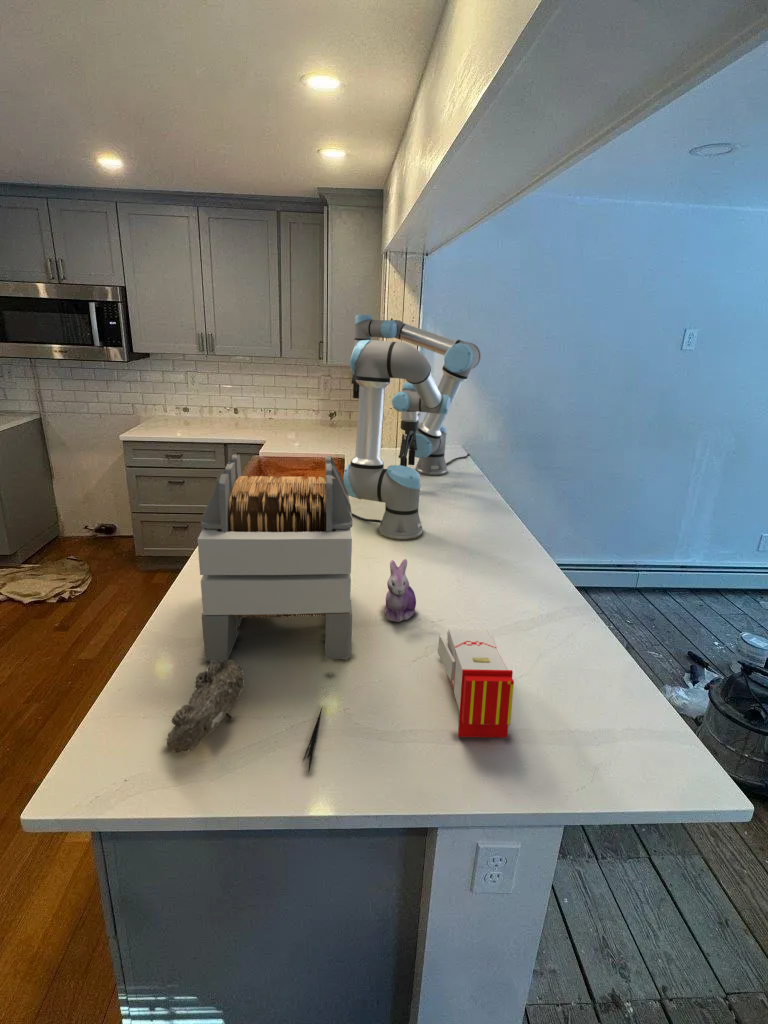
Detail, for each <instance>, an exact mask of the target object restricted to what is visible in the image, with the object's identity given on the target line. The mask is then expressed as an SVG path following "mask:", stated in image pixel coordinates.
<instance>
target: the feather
mask: <svg viewBox="0 0 768 1024" xmlns="http://www.w3.org/2000/svg"><path fill="white" fill-rule="evenodd" d="M329 675H330V676H331V675H332V674H331V673H330V674H329ZM322 710H323V707H321V708H320V710H319V713H318V716H317V719H316V723H315V725H314V728H313V731H312V733H311V737H310V739H309V742H308V745H307V748H306V751H305V754H304V757H303V760H302V763H301V767H302V765H303V763H304V761H305V758H308V759H309V760H308V762H307V763H308V764H307V766H308V771H310V770H311V766H312V765H311V764H312V760H313V757H315V756H314V755H315V751H316V749H315V746H317V739H318V733H319V729H320V722H321V717H322V712H323V711H322ZM313 754H314V755H313ZM306 755H307V757H306Z"/></svg>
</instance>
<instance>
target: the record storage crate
mask: <svg viewBox="0 0 768 1024" xmlns="http://www.w3.org/2000/svg"><path fill="white" fill-rule="evenodd" d="M324 457H325V458H324V459H325V461H324V462H325V463H324V464H325V465H324V468H325V469H324V476H318V477H316V476H307V477H303V476H288V475H287V476H280V477H279V476H274V475H270V476H268V475H259V476H258V475H255V476H254V475H250V476H247V475H242V466H241V456H240V454H231V457H230V459H229V462H227V463H226V466H225V467H224V470H223V472H222V474H220V476H219V478H218V480H217V482H216V484H215V487H214V488H213V491H212V493H211V496H210V498H209V500H208V502H207V505H206V507H205V509H204V511H203V513H202V516H201V518H200V527H201V532H200V533H199V535H198V537H197V550H198V565H199V576H202V577H201V579H200V590H201V591H200V592H201V606H202V607H201V608H202V613H201V626H202V627H201V629H202V640H203V646H204V658H203V660H204V662H208V663H210V662H211V661H212V660H217V661H222V662H223V661H224V660H227V659H228V660H229V658H230V655H231V653H232V650H233V648H234V645H235V643H236V640H237V638H238V628H240V625H241V621H242V619H243V618H282V617H283V618H289V617H290V618H293V617H297V618H298V617H314V616H315V617H320V616H321V617H324V653H325V654H324V655H325V660H338V659H339V660H348V659H350V658H352V644H353V643H352V641H353V639H352V638H353V610H352V600H351V588H352V587H351V586H352V582H351V581H352V577H351V574H352V553H353V552H352V548H353V547H352V546H353V537H352V530H351V528H352V527H353V523H354V520H353V516H352V506H351V501H350V500H351V499H350V496H349V494H348V492H347V489H346V487H345V485H344V481H343V478H342V477H341V474H340V472H339V470H338V468H337V466H336V463H335V461H334V460H333V457H332V455H328V454H327V455H326V454H325V456H324Z"/></svg>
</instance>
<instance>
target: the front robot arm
mask: <svg viewBox="0 0 768 1024" xmlns="http://www.w3.org/2000/svg"><path fill="white" fill-rule="evenodd" d="M351 352H352V353H351V355H350V361H349V368H350V372H351V374H352V375H353V374H354V375H356V382H357V383H358V384H359V399H358V409H357V425H356V440H355V456H354V457H353V458H351V459H350V463H349V464H347V465H346V466H345V467H344V472H343V477H342V481H343V483H344V485H345V487H346V489H347V492H348V494H349V497H351V498H354V499H358V500H366V501H373V502H379V503H384V505H385V507H384V508H385V509H384V513H383V515H382V519H375V518H364V517H361V516H359V515H357V514H355V513H352V518H354V519H357V520H359V521H362V522H368V523H377V524H378V523H379V526H378V533H379V534H380V535H381V536H382V537H385V538H387V539H389V540H395V541H410V540H415V539H418V538H420V537H421V536H422V535H423V524H422V521H421V518H420V515H419V507H420V506H419V505H420V496H421V495H420V494H421V493H420V492H421V474H420V473H418V472H417V471H416V469H414V468H413V467H409V466H415V464H416V463H415V460H416V457H415V451H414V450H417V448H416V447H417V443H416V430H418V426H419V423H420V422H419V420H420V416H421V413H436V414H446V413H447V414H448V413H449V411H450V409H449V407H450V408H451V406H450V397H449V396H448V395H444V394H440V392H439V389H438V386H437V383H436V381H435V379H434V377H433V375H432V373H431V372H432V366H431V364H430V361H429V360H428V358H427V356H425V355H424V354H423V353H422V351H420V350H418V349H417V348H416V347H414V346H413V345H412V344H410V343H408V342H404V341H392V340H391V341H389V340H377V339H371V340H361V341H359V342H358V343H357V344H356V345H355V347H354V346H353V349H352V351H351ZM391 379H399V380H401V379H402V380H405V381H406V382H403V384H402V389H401V390H400V391H398V392H396V393H395V394H394V395H393V397H392V399H391V404H392V408H393V409H394V410H396V411H397V412H400V419H401V421H400V430H402V431H404V433H403V434H402V435H401V442H400V449H399V454H398V458H399V459H400V460H399V465H397V464H391V465H388V466H387V468H384V466H385V462H384V461H383V460H382V459H381V448H382V447H381V446H382V433H383V421H384V420H383V419H384V407H385V406H384V405H385V395H386V387H388V386H389V385H390V384H391ZM409 448H410V450H409ZM407 457H408V458H407Z"/></svg>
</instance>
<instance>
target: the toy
mask: <svg viewBox="0 0 768 1024" xmlns="http://www.w3.org/2000/svg"><path fill="white" fill-rule="evenodd" d="M446 640H447V643H446V641H445V639H444V636H443V635H442V634H439V637H438V646H437V656H438V657H439V659H440V661H441V663H442V666H443V668H444V670H445V672H446V674H447V677H448V679H449V681H450V684H451V687H452V690H453V693H454V697H455V701H456V705H457V708H458V711H459V714H458V715H459V716H458V730H457V731H458V732H457V737H458V738H508V731H509V726H510V725H511V717H512V707H513V697H514V696H513V695H514V684H515V680H514V679H513V673H514V671H513V670H512V669H508V667H507V665H506V662H505V661H504V659H503V658H502V655H501V653H500V651H499V649H498V647H497V643H496V639H495V637H494V635H493V634H491V632H490V631H489V629H467V628H466V629H465V628H463V629H461V628H460V629H459V628H448V630H447V639H446Z"/></svg>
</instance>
